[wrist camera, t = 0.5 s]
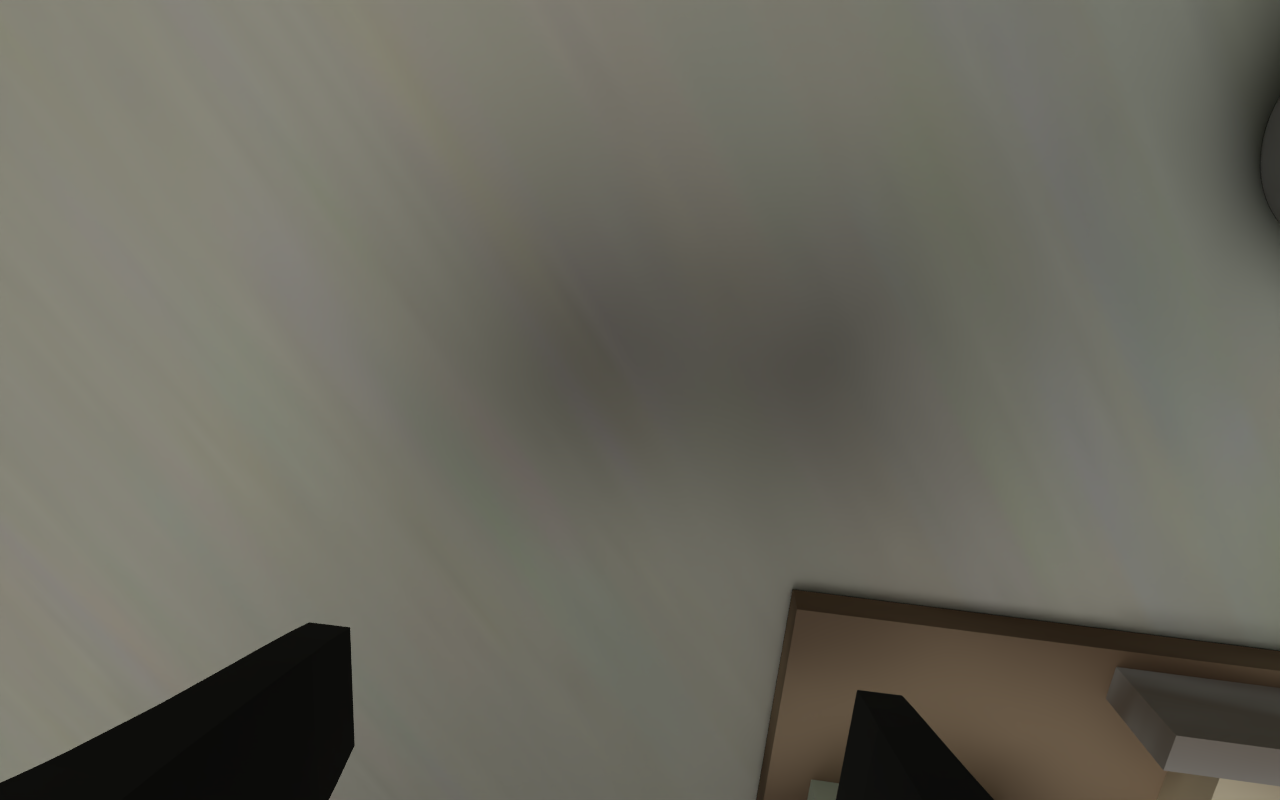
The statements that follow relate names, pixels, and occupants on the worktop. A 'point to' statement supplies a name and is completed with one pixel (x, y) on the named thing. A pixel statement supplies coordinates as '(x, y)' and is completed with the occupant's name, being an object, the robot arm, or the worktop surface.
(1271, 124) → the mug
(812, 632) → the cleat board
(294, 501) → the worktop surface
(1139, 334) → the worktop surface
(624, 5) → the worktop surface
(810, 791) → the cabinet block
